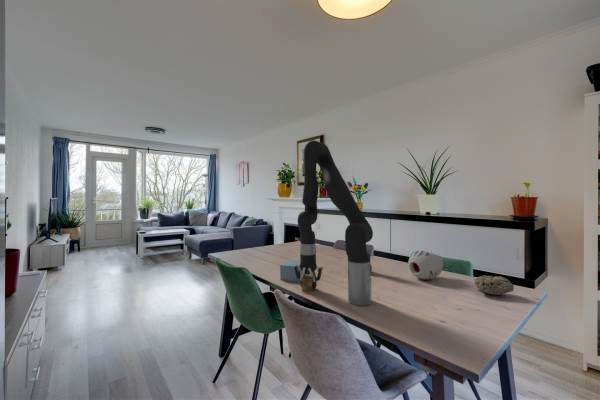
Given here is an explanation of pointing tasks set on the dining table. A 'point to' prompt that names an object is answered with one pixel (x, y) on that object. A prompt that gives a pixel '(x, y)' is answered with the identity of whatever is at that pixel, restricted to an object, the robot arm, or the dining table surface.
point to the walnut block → (307, 283)
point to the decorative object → (425, 264)
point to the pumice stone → (493, 285)
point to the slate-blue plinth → (289, 270)
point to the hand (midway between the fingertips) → (308, 287)
